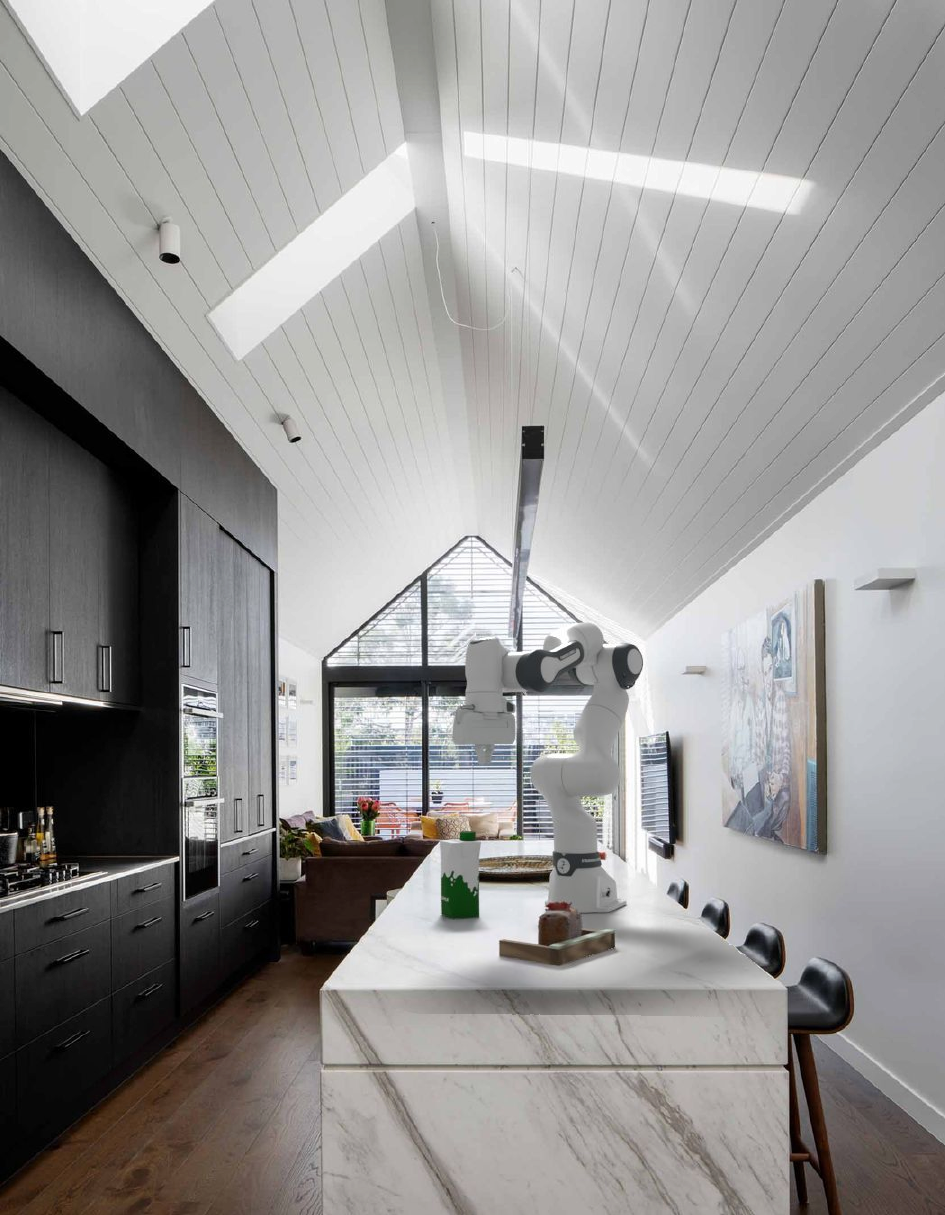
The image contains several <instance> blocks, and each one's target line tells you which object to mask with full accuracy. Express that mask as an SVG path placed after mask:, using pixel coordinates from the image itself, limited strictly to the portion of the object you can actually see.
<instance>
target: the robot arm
mask: <svg viewBox="0 0 945 1215" xmlns="http://www.w3.org/2000/svg"><path fill="white" fill-rule="evenodd" d="M604 639H605V638H604V635H603V632H602V630H601V629H600V627H599V626H597V625H596V624H594V623H592V622H576V623H572V624H568V625H565V626H563V627H560V628H557V629H556V630H554V631H552V632H550V633H549V634H548V635H547V636H546V637H545V639H544V641H543V645H542V649H533V650H526V651H525V650H524V651H515V652H511V651H509V650H508V649H507V648H505V647H504V646H503V645H502V644H501V642H500V639H499V638H498V637H497V636H489V637H488V636H487V637H481V638H475V639H472V640H470V641H469V643H468V644H467V647H466V653H465V664H464V665H465V672H464V673H465V678H466V689H465V704H460V705H459V706H458V707H457V708H456V710H455V715H454V717H453V718H454V719H453V722H452V723H453V724H452V734H451V735H452V738H451V739H452V742H453V744H454V745H457V746H464V745H467V746H469V745H471V746H472V745H473V746H474V748H473V749H474V752H475V754H476V756H477V764H478V765H491V764H492V757H493V754H494V752H495V745H513V744H514V742H515V740H516V730H517V728H516V718H515V717H516V716H515V715H514V713H516V705H515V703H513V702H512V701H510V700H509V699H506V697H504V696H503V693H523V692H532V693H533V692H534V693H544V692H547V691H548V690H549V689H550V688H551V687H552V686H553V685H554V684H555V683H556V680H557V679H559V677H560V676H562V675H563V674H565V673H566V674H567V676H568V677H569V678H570V680H571V682H572V683H574V684H577V685H581V686H593V693H592V695H591V697H590V698H589V699H588V701H587V703H586V704H585V706H584V707H583V710H582V711H581V714H579V715H580V716H579V717H578V720H577V721H576V723H575V725H574V728H573V731H572V732H573V733H572V734H573V739H574V741H575V744H576V745H577V746H578V748H579V749H578V750H577V751H576V752H573V753H570V752H569V753H566V752H565V753H563V752H562V753H560V752H558V753H555V752H554V753H548V754H545V755H541V756H538V757H537V758H536V759H535V760H534V761H533V763H532V765H531V769H530V779H531V780H530V781H531V783H532V786H533V788H534V789H535V790H536V791H538V793H539V794H540V795H541V796H542V797H543V799H544V800H545V802H546V805H547V806H548V809H549V812H550V815H551V821H552V828H553V829H552V830H553V851H552V854H551V855H552V856H551V860H552V866H553V869H552V871H551V872H550V874H549V879H548V880H549V882H548V883H549V884H548V897H547V898H548V899H547V900H545V901H544V906H546V907H547V905H548V904H549V903H550V902H551V903H555V902H559V903H561V902H565V903H566V902H567V903H568V904H570V903H571V902H572V904H571V907H573V908H575V909H577V912H578V913H580V914H581V913H584V914H585V913H610V912H612V911H614V910H617V909H619V908H621V907H623V906H625V905H627V900H625V899H622V898H618V891H617V890H618V888H617V883H616V880H615V879H614V878H613V877H612V876H611V875H610V874H609V872H607V871H606V870H605V869H604V868H603V866H602V865H603V864H602V860H603V861H605V860H607V853H606V851H602V852H601V851H598V823H597V821H596V819H595V817H594V816H593V815H592V814H591V813H589V812H588V811H587V810H586V809H585V808H584V806H583V804H582V801H581V798H582V797H584V798H587V797H588V798H600V797H604V796H608V795H612V794H614V793H615V792H616V790H617V789H618V787H619V786H620V782H621V770H620V767H619V765H618V762H617V761H616V760H615V759H614V757H613V756H612V755H613V754H612V753H613V752H612V750H613V747H614V744H615V742H616V739H617V737H618V734H619V732H620V730H621V728H622V725H623V723H624V721H625V719H626V715H627V713H628V712H627V711H628V708H629V703H630V697H629V693H628V692H627V690H629V689H631V688H633V687H634V686H635V684H636V681H637V680H638V679H639V677H640V675H641V673H642V672H643V667H644V660H643V659H644V658H643V655H642V652H641V651H640V649H639V648H638V646H636V645H635V644H632V643H629V642H620V643H604V642H605V640H604ZM484 750H485V751H484Z"/></svg>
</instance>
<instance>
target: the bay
mask: <svg viewBox="0 0 945 1215" xmlns="http://www.w3.org/2000/svg"><path fill="white" fill-rule="evenodd" d="M615 931H616V930H615V929H609V928H608V929H607V928H605V929H602V930H598V929H597V930H596V929H590V928H583V927H582V933H581V936H580V937H577V938H573V939H570V940H566V941H563V942H559V943H556V944H552V945H549V946H545V945H539V944H538V943H537V944H536V943H532V942H526V941H525V942H524V941H519V940H518V941H517V940H511V939H507V938H506V939H500V940H499V941H498V948H499V949H498V955H499V957H502V958H509V959H516V960H522V961H526V962H527V961H528V962H532V963H540V964H545V965H546V964H547V965H551V966H557V967H559V966H563V965H565V964H569V963H572V962H575V961H578V960H581V958H582V959H584V957H585V958H587V957H586V956H588V957H590V956H589V955H591V956H593V955H592V954H594V955H597V954H600V953H602V951H603V952H606V950H607V951H608V949H610V950H612V949H611V948H613V949H615V948H616V932H615ZM614 947H615V948H614Z"/></svg>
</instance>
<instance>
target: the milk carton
mask: <svg viewBox="0 0 945 1215" xmlns="http://www.w3.org/2000/svg"><path fill="white" fill-rule="evenodd" d="M481 844H482V842H481V841H480V840H478V839H477V834H476V831H473V830H463V831H459V838H458V839H457V838H456V839H455V838H454V839H453V838H452V839H451V838H449V839H447V840H445V839H443V840H442V839H441V840H439V848H440V912H441V914H442V915H441V916H444V917H445V918H449V919H451V918H452V919H451V920H456V919H455V918H461V919H469V918H470V919H471V918H479V917H480V852H481Z"/></svg>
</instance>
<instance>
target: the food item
mask: <svg viewBox="0 0 945 1215" xmlns="http://www.w3.org/2000/svg"><path fill="white" fill-rule="evenodd" d="M571 904H572V902H571V903H570V904H568V903H567V902H566V903H565V902H561V903H559V902H555V903H551V902H550V903H549V904H548V905H547V906H546V907H547V908H545V909H544V913H542V914H541V915H539V917H538V918H539V919H538V925H537V927H538V928H537V930H538V934H537V942H538V943H537V944H539V945H545V946H549V945H552V944H556V943H559V942H563V941H566V940H570V939H573V938H577V937H580V936H581V933H582V928H583V916H582V914H581V913H578V912H577V909H575V908H573V907H571Z"/></svg>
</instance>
